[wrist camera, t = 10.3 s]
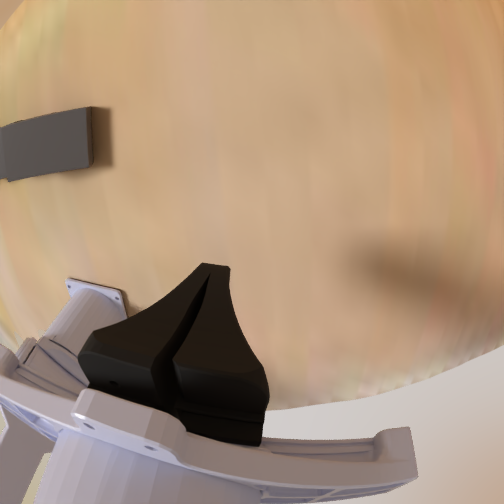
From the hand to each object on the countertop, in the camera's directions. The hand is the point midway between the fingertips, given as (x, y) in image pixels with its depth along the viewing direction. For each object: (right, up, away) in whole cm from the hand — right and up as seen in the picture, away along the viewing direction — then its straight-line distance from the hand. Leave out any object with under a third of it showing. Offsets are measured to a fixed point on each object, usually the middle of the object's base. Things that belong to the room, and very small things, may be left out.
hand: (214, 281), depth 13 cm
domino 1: (-11, +11, +5) cm, 17 cm away
